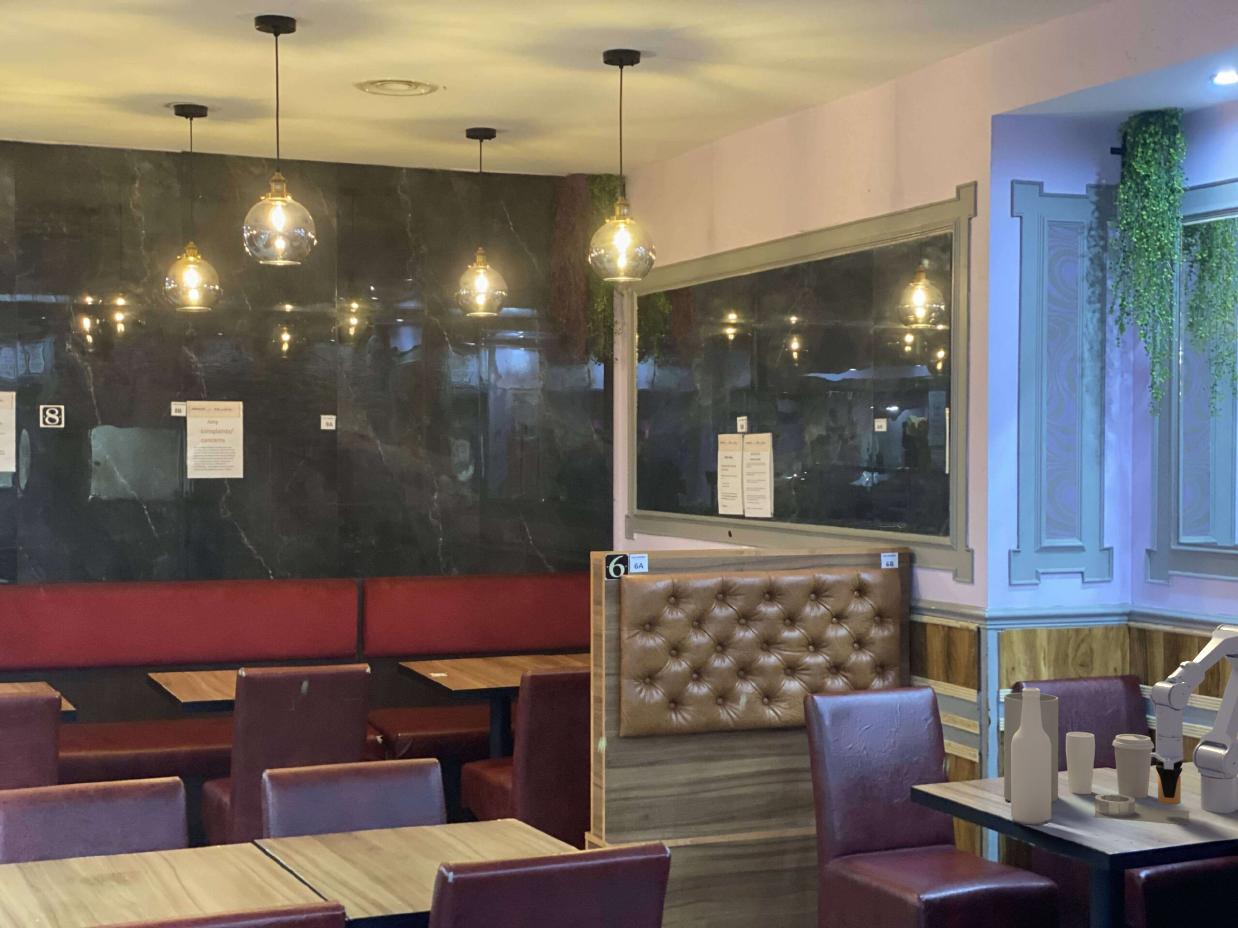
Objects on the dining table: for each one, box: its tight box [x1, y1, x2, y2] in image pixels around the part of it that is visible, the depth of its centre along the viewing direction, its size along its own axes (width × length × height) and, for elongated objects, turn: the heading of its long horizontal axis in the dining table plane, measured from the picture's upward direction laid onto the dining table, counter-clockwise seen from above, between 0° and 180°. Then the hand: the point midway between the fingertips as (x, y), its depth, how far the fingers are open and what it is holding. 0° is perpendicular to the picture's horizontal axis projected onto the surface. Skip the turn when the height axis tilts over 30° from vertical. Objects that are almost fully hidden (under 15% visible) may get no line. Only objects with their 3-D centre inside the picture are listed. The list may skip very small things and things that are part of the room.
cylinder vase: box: [1003, 692, 1059, 803], centre depth 346 cm, size 12×12×25 cm
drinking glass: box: [1065, 731, 1096, 795], centre depth 351 cm, size 7×7×15 cm
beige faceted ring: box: [1094, 793, 1136, 816], centre depth 331 cm, size 9×9×3 cm
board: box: [1093, 805, 1190, 826], centre depth 329 cm, size 20×14×1 cm
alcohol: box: [1010, 687, 1052, 826], centre depth 327 cm, size 9×9×30 cm
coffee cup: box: [1111, 733, 1155, 799], centre depth 348 cm, size 10×10×15 cm
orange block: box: [1157, 774, 1182, 805], centre depth 327 cm, size 5×5×6 cm
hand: (1169, 794), depth 327 cm, fingers closed on orange block, 5 cm apart
